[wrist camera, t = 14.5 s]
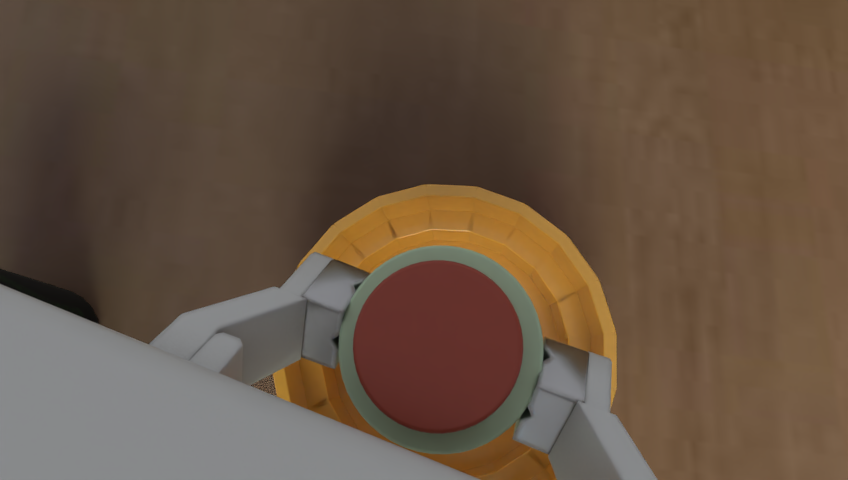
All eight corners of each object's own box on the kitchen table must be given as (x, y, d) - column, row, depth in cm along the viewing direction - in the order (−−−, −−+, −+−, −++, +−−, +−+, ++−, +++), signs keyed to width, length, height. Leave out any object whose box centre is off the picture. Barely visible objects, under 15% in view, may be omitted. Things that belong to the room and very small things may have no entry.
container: (514, 430, 17) (547, 475, 10) (374, 417, 17) (313, 452, 10) (520, 288, 18) (554, 240, 11) (386, 279, 18) (338, 227, 11)
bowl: (586, 514, 24) (617, 553, 20) (292, 488, 25) (251, 518, 21) (589, 222, 27) (616, 192, 22) (322, 209, 28) (293, 177, 23)
